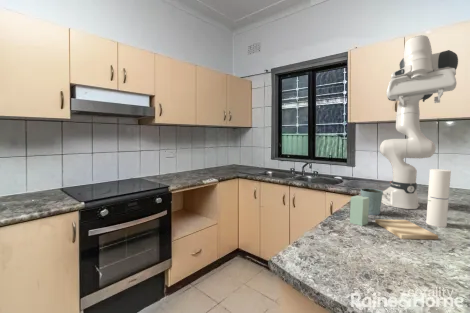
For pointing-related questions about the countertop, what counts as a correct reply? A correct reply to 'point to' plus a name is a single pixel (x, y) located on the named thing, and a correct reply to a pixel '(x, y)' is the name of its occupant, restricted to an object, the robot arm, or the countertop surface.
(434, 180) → the cylindrical container
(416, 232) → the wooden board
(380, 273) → the countertop surface
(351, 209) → the mint green rectangular block
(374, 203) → the teal plant pot
